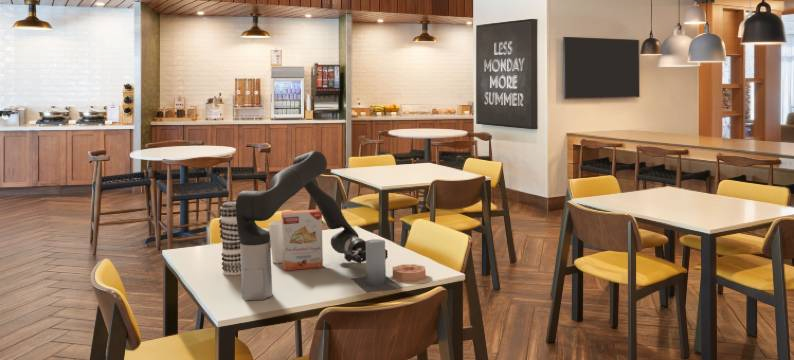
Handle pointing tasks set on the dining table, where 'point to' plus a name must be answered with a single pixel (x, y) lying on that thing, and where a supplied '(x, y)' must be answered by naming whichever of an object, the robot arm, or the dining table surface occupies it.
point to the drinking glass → (276, 241)
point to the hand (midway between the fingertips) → (372, 259)
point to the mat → (388, 286)
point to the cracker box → (302, 239)
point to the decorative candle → (230, 240)
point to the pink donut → (409, 272)
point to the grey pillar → (375, 262)
